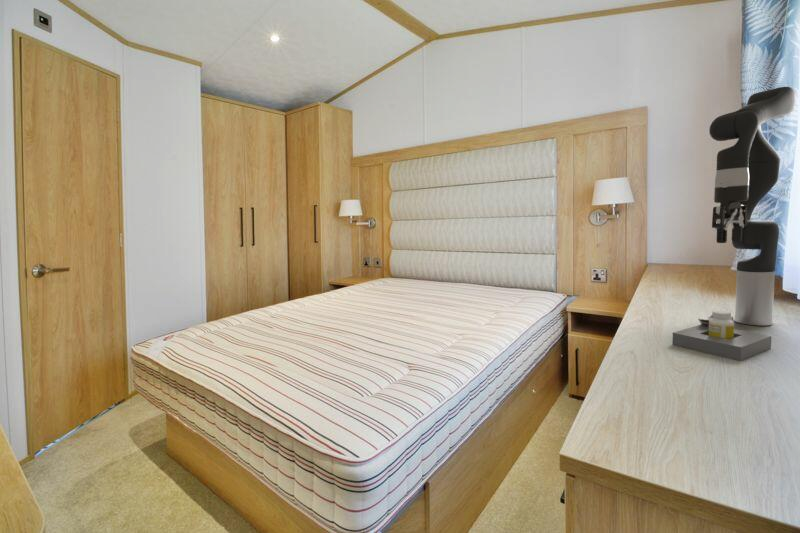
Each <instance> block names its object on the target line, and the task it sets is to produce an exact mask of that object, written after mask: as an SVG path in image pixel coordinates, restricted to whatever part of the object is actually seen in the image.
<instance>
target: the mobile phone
mask: <svg viewBox="0 0 800 533" xmlns="http://www.w3.org/2000/svg"><path fill="white" fill-rule="evenodd" d="M712 318H713V317H712V314H710V316H708V317H707V319H704V318H699V317H698V318H697V320H698V321H699V323H700V325H701V324H704V325H709V320H710V319H712ZM730 320H732V321H733V322H734V316H731V318H730Z"/></svg>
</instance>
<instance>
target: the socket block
mask: <svg viewBox="0 0 800 533" xmlns="http://www.w3.org/2000/svg"><path fill="white" fill-rule="evenodd" d="M672 346H677V347H680V348H685V349H689V350H692V351H693V350H694V351H697V352H702V353H705V352H706V354H710V355H714V354H715V355H716V356H718V355H719V357H722V356H723V358H728V359H731V360H736V361H740V362H742V361H744V360H747V359H749V358H752V357H754V356H756V355H759V354H762V353H764V352H766V351H768V350H771V349H772V335H768V334H764V333H757V332H752V331H746V330H741V329H735V328H734V338H732V339H730V340H728V339H723V338H718V337H713V336H709V325H704V324H701V323H700V324H698V325H694V326H692V327H690V326H689V327H688V328H684V329H680V330H677V331H674V332H672ZM763 351H764V352H763ZM715 355H714V356H715ZM751 356H752V357H751Z"/></svg>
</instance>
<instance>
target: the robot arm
mask: <svg viewBox="0 0 800 533" xmlns="http://www.w3.org/2000/svg"><path fill="white" fill-rule="evenodd" d="M796 97H797V95H796V92H795V90H794V89H793V87H790V86H781V87H776V88H771V89H768V90H764V91H763V90H762V91H759V92H755V93H753V94H751V95H750V96H749V98H748V99H747V102H746V105H745V106H743V107H741V108H739V109H737V110H735V111H731V112H728V113H725V114H721V115H719V116H717V117H716V118H715V119H714V120H712V122H711V124H710V126H709V136H710V137H711V138H712V139H713V140H715V141H717V142H724V141H729V140H730V141H731V140H735V139H737V141H736V143H735V144H734V145H732V146H729V147H727V148H724V149H721V150H720V151H718V152H717V155H716V172H715V177H714V196H713V201H714V203H716V204H720V205H719V206H714V207H713V208H712V220H711V222H712V223H711V228H713V229H715V230H716V243H717V244H726V243H727V242H728V228H729V225H730V224H731V227H732V228H731V244H732V246H733V247H734V249H736V250H760V252H759V254H758V255H756V256H753V257H751V258H746V259H742V260H739V261H738V262H737V264H736V276H735V278H736V279H735V281H736V282H735V284H736V285H735V303H734V305H735V306H734V321H735V322H736V323H739V324H743V325H750V326H765V327H766V326H771V325H773V314H774V296H775V280H776V279H775V274H776V264H777V251H778V244H779V243H778V242H779V238H780V237H779V236H780V227H779V225H778V223H777V222H776V221H775V220H751V216H752V215H753V212H754V210H755V209H756V207H757V205H758V204H759V203H760V202H761V201H762V199H763V198H764V197H765V196H766V195H767V194H768V193H769V192H770V191H771V190H772V189H773V188H774V186H775V185H776V184H777V183H778V181H779V177H780V168H781V157H780V154H779V153H778V152H777V150H776V148H774V147H773V145H772V144H771V143H770V142H769V141H768V140H767V139H766V137H765V135H764V134H763V131H762V124H764V123H766V122H768V121H771V120H774V119H780V118H784V117H786V116H789V115H790V114H792V112H793V111H794V109H795V107H796V100H797V98H796Z"/></svg>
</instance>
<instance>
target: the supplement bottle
mask: <svg viewBox="0 0 800 533" xmlns="http://www.w3.org/2000/svg"><path fill="white" fill-rule="evenodd" d="M711 315H712V317H713V318H712V319H710V320H709V336H713V337H718V338H723V339H728V340H730V339H732V338H734V329H735V323H734V320H733V321H732V320H730V318H731V317H732V312H731V311H728V310H718V309H717V310H712V314H711Z"/></svg>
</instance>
